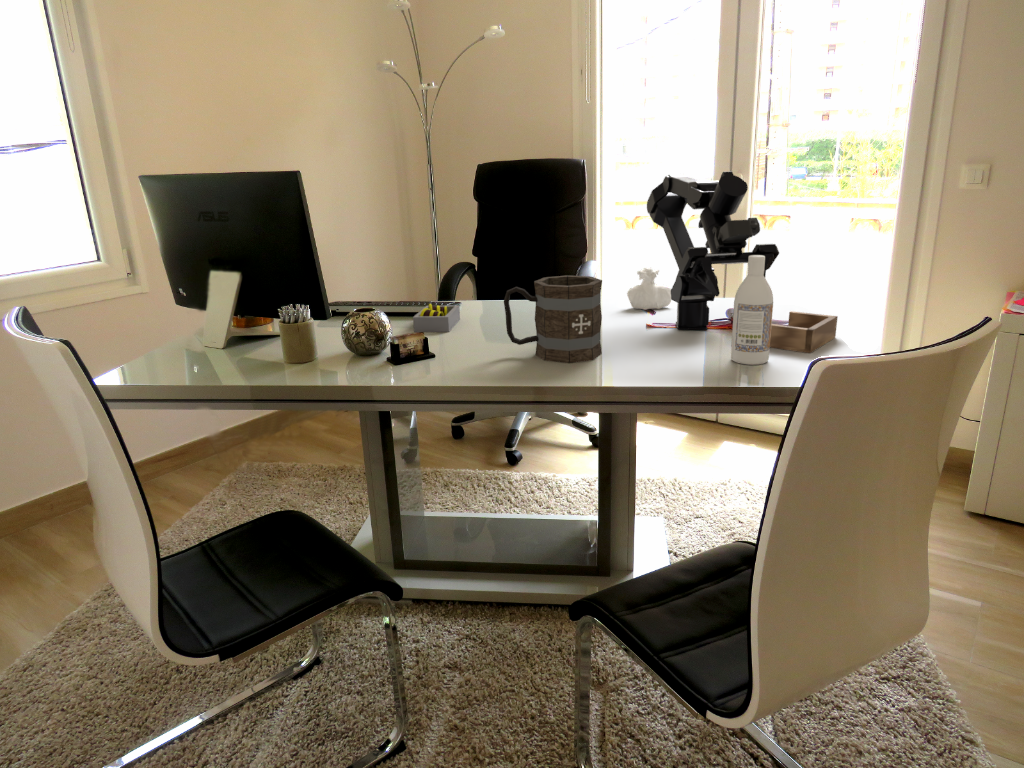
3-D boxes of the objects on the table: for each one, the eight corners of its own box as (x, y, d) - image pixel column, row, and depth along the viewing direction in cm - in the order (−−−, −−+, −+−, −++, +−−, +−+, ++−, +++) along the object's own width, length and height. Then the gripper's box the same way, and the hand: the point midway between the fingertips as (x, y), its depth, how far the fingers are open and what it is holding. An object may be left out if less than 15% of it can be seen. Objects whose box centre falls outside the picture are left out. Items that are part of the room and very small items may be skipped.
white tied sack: (670, 314, 191) (661, 276, 195) (679, 301, 184) (670, 262, 188) (625, 317, 190) (618, 278, 193) (633, 303, 183) (625, 264, 186)
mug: (599, 345, 154) (600, 274, 150) (604, 362, 141) (604, 286, 137) (507, 346, 155) (505, 276, 151) (503, 364, 143) (500, 288, 138)
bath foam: (774, 364, 136) (783, 257, 130) (737, 366, 136) (744, 259, 130) (760, 355, 143) (768, 252, 137) (725, 356, 143) (732, 254, 137)
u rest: (762, 346, 149) (764, 324, 148) (789, 331, 160) (791, 311, 159) (810, 353, 143) (812, 330, 142) (835, 337, 154) (837, 316, 153)
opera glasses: (441, 330, 172) (440, 310, 170) (420, 330, 172) (418, 310, 171) (450, 321, 181) (448, 301, 179) (429, 321, 182) (428, 302, 180)
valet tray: (414, 331, 171) (413, 317, 170) (427, 319, 184) (426, 305, 183) (449, 331, 170) (448, 317, 169) (460, 319, 183) (459, 305, 181)
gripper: (687, 205, 140) (708, 271, 133) (778, 201, 143) (803, 265, 136) (671, 242, 150) (689, 305, 143) (756, 238, 152) (778, 300, 145)
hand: (740, 293), depth 141 cm, fingers open, 9 cm apart
